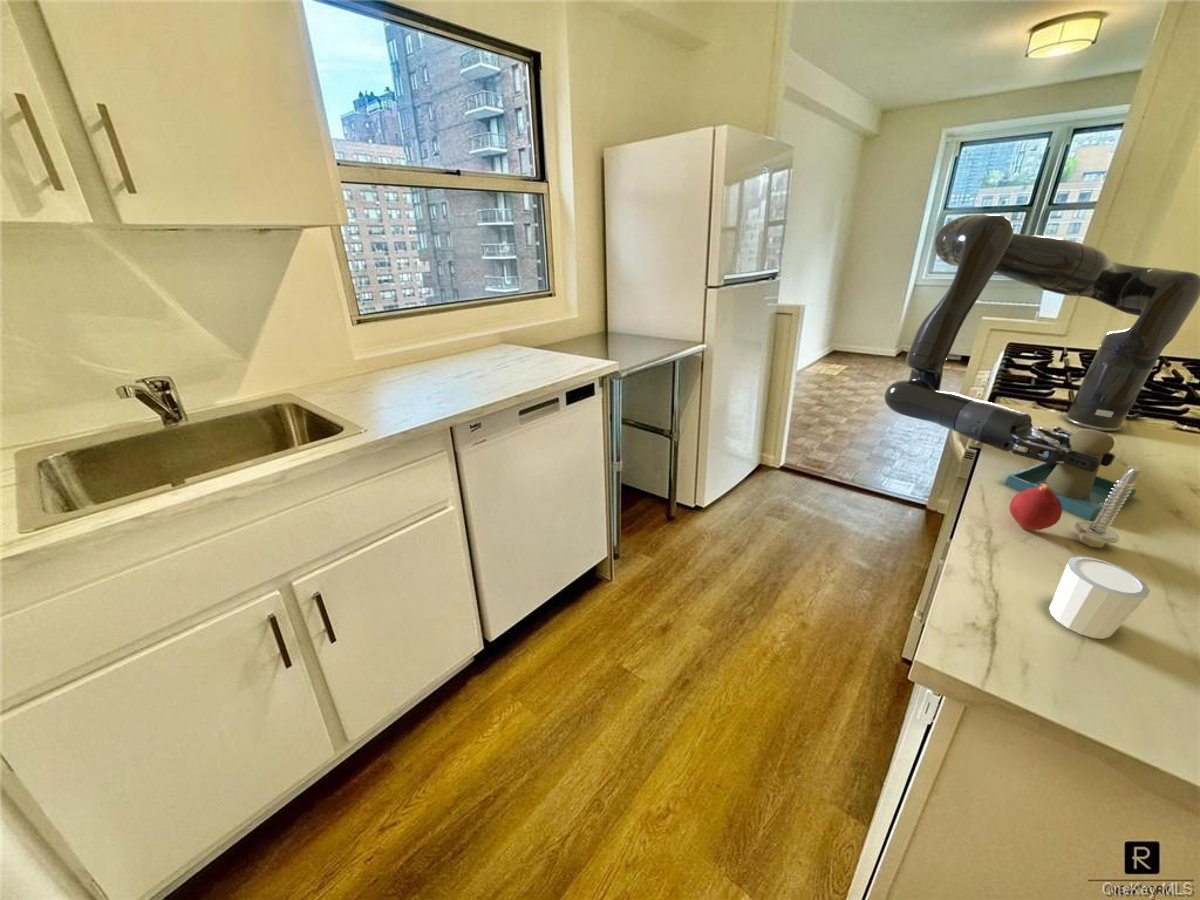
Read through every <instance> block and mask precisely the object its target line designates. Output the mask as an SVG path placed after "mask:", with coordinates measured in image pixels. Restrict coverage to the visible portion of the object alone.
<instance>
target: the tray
mask: <svg viewBox="0 0 1200 900" xmlns="http://www.w3.org/2000/svg"><path fill="white" fill-rule="evenodd" d="M1057 464H1058V462H1056V463H1055V464H1049V463H1046V462H1042V461H1041V462H1039V463H1037V464H1035V465H1031V466H1029V467H1027V468H1024V469H1021V470H1019V471H1015V472H1013V473H1010V474H1008V475H1007V477H1006V480H1005V482H1004V485H1006V486H1007V487H1010V488H1013V489H1015V490H1017V491H1019V492H1022V491H1024V490H1026V489H1030V488H1039V486H1040V484H1044V482H1045V480H1046V479H1047V478H1048V476H1049V475H1050V474H1051V472H1052V471H1053V470H1054V468H1055V467H1056V466H1057ZM1114 484H1117V482H1116V481H1114V480H1111V479H1107V478H1104V477H1102V476H1099V475H1096V478H1095V481H1094V484H1093V487H1092V490H1091V493H1090V495H1089V497H1088V498H1085V499H1077V498H1071V497H1067V496H1063V495H1060V494H1058V493H1055V492H1053V491H1052V492H1053V493H1054V494H1055V495H1056V496H1057V497H1058V498H1059V500H1060V502H1061V504H1062V510H1064V511H1067V512H1069V513H1070V514H1074V515H1076V516H1078V517H1080V518H1083V519H1085V520H1087V521H1091V520H1094V519H1096V517H1095V516H1098V512H1100V510H1099V509H1102V507H1101V506H1102V505H1104V503H1103V502H1106V501H1107V500H1105V499H1108V496H1107V495H1110V494H1111V493H1110V492H1112V489H1111V488H1114V487H1115V486H1114ZM1136 492H1137V489H1136V488H1133V489H1131V493H1128V494H1129V496H1128V497H1126V498H1127V500H1125V501H1124V502H1125V503H1127V502H1129V501H1131V500H1132V499H1133V497H1134V496H1135V494H1136Z"/></svg>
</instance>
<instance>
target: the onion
mask: <svg viewBox="0 0 1200 900" xmlns="http://www.w3.org/2000/svg"><path fill="white" fill-rule="evenodd" d="M1009 513H1010V515H1011V516H1012V518H1013V519H1014V521H1015V522H1016V523H1017V524H1018V525H1019V527H1020V528H1021V529H1022V530H1024V531H1040V530H1044V529H1048V528H1051V527H1052V526H1054V525H1057V524H1058V522H1059V521H1060V520H1061V516H1062V513H1063V509H1062V504H1061V502H1060V500H1059V498H1058V497H1057V496H1056V495H1055V494H1054V493H1053V492H1052V490H1051V489H1050V488H1049V486H1048V485H1046V484H1040V486H1039V488H1030V489H1026V490H1024V491H1019V492H1018V493H1017V494H1015V495H1014V496H1013V498H1011V500H1010V503H1009Z"/></svg>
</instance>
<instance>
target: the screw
mask: <svg viewBox="0 0 1200 900" xmlns="http://www.w3.org/2000/svg"><path fill="white" fill-rule="evenodd" d="M1140 473H1141V470H1140V469H1139V467H1138V466H1137V465H1129V466H1127V467H1126V469H1125V470H1124V472H1123V474H1122V476H1121V477H1120V479H1119V480H1116V481H1115V482H1116V483H1117V484H1114V486H1115V487H1114V488H1111V489H1112V492H1110V493H1111V494H1110V495H1107V496H1108V499H1105V500H1107V501H1106V502H1103V503H1104V505H1102V506H1101V507H1102V509H1099V510H1100V512H1098V516H1095V518H1093V521H1091V520H1080V521H1077V522H1075V523H1074V526H1073V527H1074V529H1075V530H1076V531H1077V532H1078V533H1080V534H1079V536H1078V538H1079V541H1080V543H1082V544H1085V545H1086V546H1088V547H1091V548H1104V546H1105V544H1116V543H1118V542H1119V541H1120V540H1121V537H1120V535H1119V534H1118V533H1117V531H1115V530H1114V528H1111V525H1113V522H1114V521H1115V519H1116V518H1117V515H1118V514H1119V512H1120V511H1121V508H1123V505H1124V504H1126V502H1124V501H1125V500H1127V498H1126V497H1128V496H1129V494H1128V493H1131V489H1134V487H1133V486H1135V484H1136V483H1135V481H1136V479H1137V477H1138V475H1139V474H1140Z"/></svg>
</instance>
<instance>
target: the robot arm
mask: <svg viewBox="0 0 1200 900" xmlns="http://www.w3.org/2000/svg"><path fill="white" fill-rule="evenodd" d="M934 250H935V253H936V255H937V257H938V258H939V259H940V260H941V261H942V262H943V263H945V264H947V265H950V266H955V267H957V269H956V272H955V275H954V278H953V280H952V282H951V284H950V285H949V288H947V291H946V293H945V294H944V295H943V297H942V298H941V299H940V300H939V302H938V303H937V304H936V305H935V306H934V307H933V309H932V310H931V311H930V312H929V313H928V314H927V316H925V317H924V319H923V321H922V322H921V323H920V325H919V327H918V329H917V330H916V333H915V335H914V337H913V340H912V342H911V345H910V347H909V350H908V352H907V355H906V358H905V363H906V365H907V367H908V368H910V375H909V379H907V380H899V381H896V382H893V383H891V385H889V386H888V387H887V389H886V390H885V391H884V392H885V393H884V402H885V404H886V406H887V407H888V408H889V409H890V410H891V411H893V412H895V413H897V414H899V415H902V416H905V417H910V418H912V419H917V420H921V421H925V422H930V423H934V424H936V425H939V426H940V427H943V428H946V429H949V430H950V431H954V432H956V433H958V434H961V435H963V436H965V437H966V438H968V439H971V440H974V441H976V442H979V443H981V444H984V445H986V446H989V447H993V448H994V449H997V450H1000V451H1003V452H1010V453H1012V454H1014V455H1016V456H1021V457H1023V458H1027V459H1032V460H1036V461H1039V462H1041V463H1042V462H1046V463H1049V464H1055V463H1056V462H1058V463H1062V464H1065V463H1067V464H1070V465H1073V466H1075V467H1078V468H1081V469H1084V470H1086V471H1089V472H1094V471H1096V470H1097V469H1098V467H1099V468H1100V466H1103V467H1108V466H1111V465H1112V463H1113V462H1114V460H1115V459H1116V455H1115V454H1114V453H1113V452H1110V451H1109V452H1108V453H1106V454H1104V455H1103V457H1102V460H1099V459H1097V458H1094V457H1091V456H1088V455H1085V454H1082V453H1079V452H1076V451H1072V450H1071V449H1069V448H1070V447H1071V445H1070V437H1071V435H1072V434H1073V433H1074V432H1071V431H1070V430H1069V431H1068V430H1066V429H1064V428H1061V427H1060V426H1054V427H1053V429H1051V428H1049V427H1044V426H1039V427H1037V426H1034V425H1033V423H1032V419H1033V418H1032V416H1031V415H1030V414H1029V413H1024V412H1022V411H1018V410H1016V409H1012V408H1008V407H1006V406H1003V405H999V404H996V403H993V402H989V401H985V400H980V399H975V398H973V397H969V396H966V395H963V394H960V393H956V392H949V391H948V392H947V391H940V390H941V385H942V380H943V379H942V378H943V372H944V366H945V364H946V361H947V360H948V357H949V355H950V352H951V351H952V348H953V345H954V343H955V340H956V339H957V336H958V334H959V332H960V330H961V328H962V326H963V324H964V322H965V320H966V319H967V317H968V315H969V314H970V311H971V310H972V308H973V307H974V306H975V304H976V302H977V301H978V299H979V297H980V296H981V294H982V293H983V291H984V289H985V288H986V286H987V284H988V283H989V281H990V280H991V278H992V277H993V275H994V274H998V275H1002V276H1003V277H1006V278H1009V279H1012V280H1014V281H1016V282H1019V283H1022V284H1025V285H1027V286H1030V287H1033V288H1037V289H1040V290H1044V291H1047V292H1050V293H1054V294H1058V295H1063V296H1069V297H1080V298H1089V299H1092V300H1095V301H1098V302H1100V303H1103V304H1105V305H1106V306H1109V307H1111V308H1113V309H1115V310H1117V311H1120V312H1122V313H1125V314H1129V315H1133V316H1138V318H1137V319H1136V321H1135V322H1134V323H1133V325H1132V326H1131V327H1129V328H1127V329H1123V330H1114V331H1109V332H1107V333H1106V334H1105V335H1104V337H1103V338H1102V340H1101V342H1100V345H1099V346H1098V349H1097V351H1096V353H1095V355H1094V357H1093V360H1092V361H1091V363H1090V366H1089V367H1088V369H1087V371H1086V373H1085V375H1084V377H1083V379H1082V382H1081V384H1080V385H1079V388H1078V390H1077V392H1076V394H1075V395H1074V398H1073V400H1072V402H1071V404H1070V406H1069V408H1068V410H1067V412H1066V413H1065V415H1064V419H1065V420H1066V421H1067V422H1069V423H1071V424H1074V425H1076V426H1079V427H1082V428H1085V429H1093V430H1097V431H1101V432H1118V431H1120V429H1121V428H1122V425H1123V423H1124V421H1125V420H1129V421H1130V420H1136V419H1138V418H1142V417H1144V416H1143V415H1140V414H1139V413H1135V414H1133V415H1129V412H1131V411H1132V409H1133V408H1134V405H1135V404H1136V402H1137V398H1138V396H1139V394H1140V392H1141V391H1142V389H1143V387H1144V386H1145V383H1146V381H1147V379H1148V377H1149V376H1150V374H1151V372H1152V371H1153V368H1154V367H1155V365H1156V363H1157V361H1158V359H1159V358H1160V355H1161V354H1162V352H1163V350H1164V349H1165V347H1167V345H1168V344H1170V343H1171V342H1172V341H1173V340H1174V339H1175V337H1176V336H1177V334H1178V333H1179V331H1180V330H1181V329H1182V327H1183V325H1184V324H1185V322H1186V320H1187V319H1188V317H1189V316H1190V314H1191V313H1192V311H1193V310H1194V308H1195V306H1196V304H1197V303H1198V301H1199V299H1200V275H1199V274H1198V273H1195V272H1191V271H1187V270H1178V269H1170V268H1160V267H1148V266H1147V267H1146V266H1137V265H1132V264H1131V265H1130V264H1125V263H1119V262H1116V261H1114V260H1112V259H1110V257H1109V256H1108V255H1107V254H1106V253H1105V252H1103V251H1102V250H1100V249H1098V248H1096V247H1093V246H1091V245H1087V244H1085V243H1081V242H1078V241H1073V240H1069V239H1064V238H1058V237H1051V236H1042V235H1031V234H1019V233H1014V226H1013V224H1012V222H1011V220H1010V219H1009V218H1007V217H1006V216H1005V215H1002V214H967V215H963V216H960V217H957V218H954V219H952V220H950V221H948V222H947V223H946V224H945V225H943V226H942V227H941V228H940V230H939V231H938V232H937V234H936V236H935V239H934ZM1127 414H1128V415H1129V416H1127ZM1071 451H1072V453H1071ZM1098 470H1099V469H1098Z"/></svg>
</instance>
